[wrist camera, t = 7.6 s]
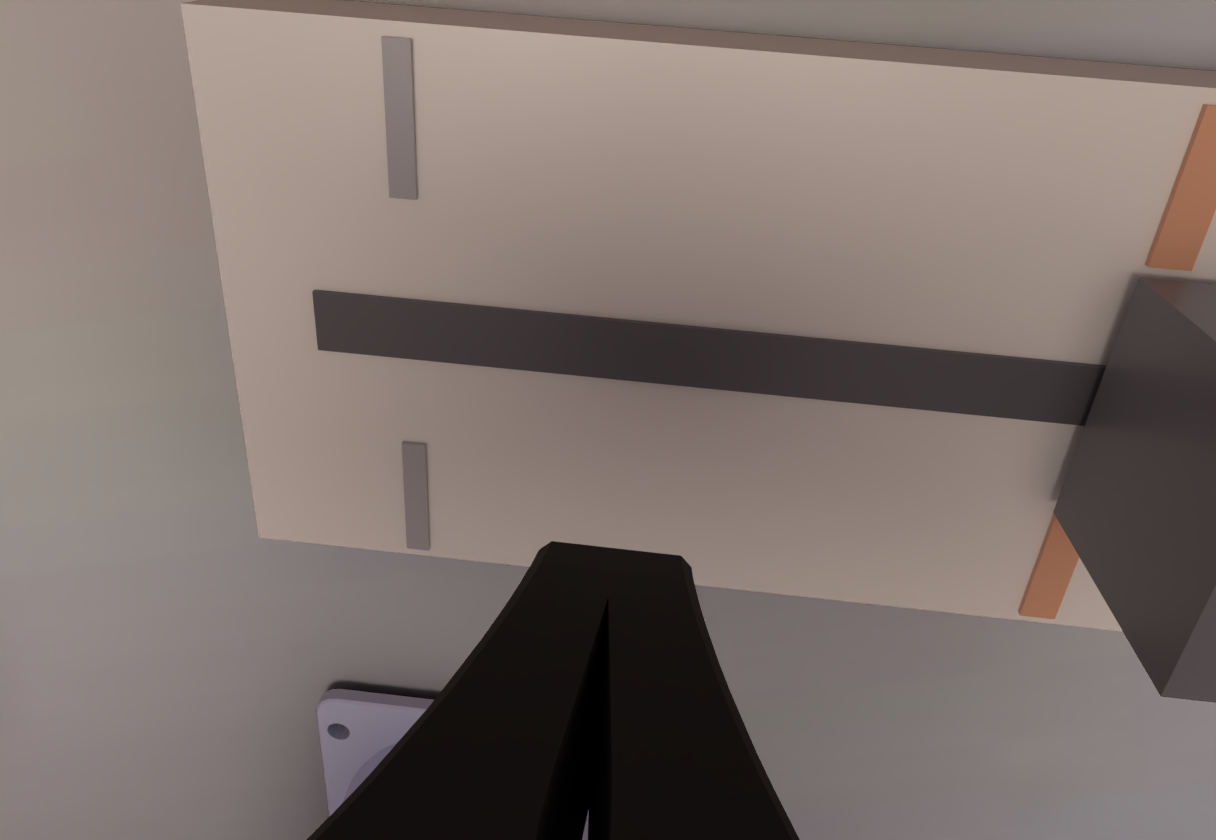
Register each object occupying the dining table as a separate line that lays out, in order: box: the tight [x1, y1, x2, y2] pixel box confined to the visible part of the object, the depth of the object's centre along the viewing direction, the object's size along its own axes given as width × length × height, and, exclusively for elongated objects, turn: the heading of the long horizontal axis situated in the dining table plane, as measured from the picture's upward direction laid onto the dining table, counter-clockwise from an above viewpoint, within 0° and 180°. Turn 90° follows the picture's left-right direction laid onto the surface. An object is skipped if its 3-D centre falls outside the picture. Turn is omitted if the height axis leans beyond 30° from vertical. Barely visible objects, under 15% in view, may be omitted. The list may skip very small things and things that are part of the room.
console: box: [181, 0, 1216, 631], centre depth 15 cm, size 9×18×2 cm, turn 86°
